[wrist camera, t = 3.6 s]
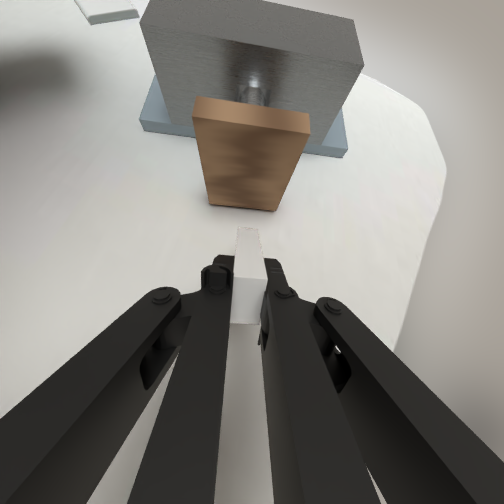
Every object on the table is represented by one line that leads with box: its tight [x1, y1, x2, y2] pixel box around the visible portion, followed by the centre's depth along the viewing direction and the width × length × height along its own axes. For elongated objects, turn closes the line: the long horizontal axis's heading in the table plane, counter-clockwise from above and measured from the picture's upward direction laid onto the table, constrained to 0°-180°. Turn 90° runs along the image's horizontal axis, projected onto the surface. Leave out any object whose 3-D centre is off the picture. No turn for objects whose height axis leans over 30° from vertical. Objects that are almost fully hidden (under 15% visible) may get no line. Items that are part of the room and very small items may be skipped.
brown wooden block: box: [192, 86, 310, 211], centre depth 18 cm, size 8×12×10 cm
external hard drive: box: [74, 0, 139, 25], centre depth 32 cm, size 2×8×12 cm
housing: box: [139, 0, 364, 158], centre depth 22 cm, size 28×9×10 cm, turn 87°
